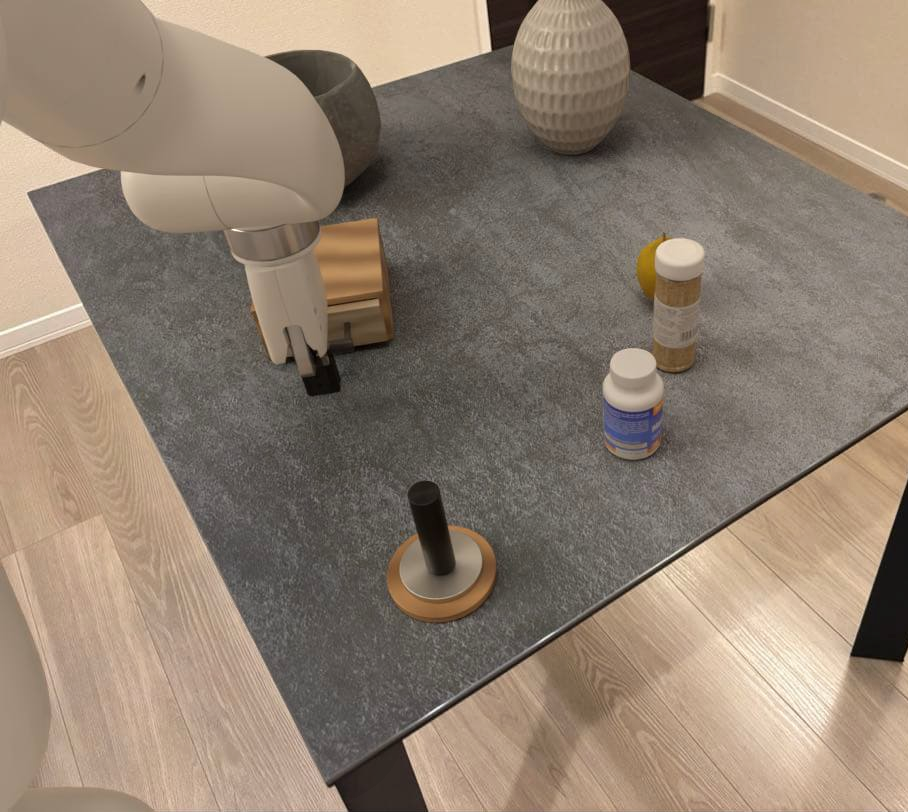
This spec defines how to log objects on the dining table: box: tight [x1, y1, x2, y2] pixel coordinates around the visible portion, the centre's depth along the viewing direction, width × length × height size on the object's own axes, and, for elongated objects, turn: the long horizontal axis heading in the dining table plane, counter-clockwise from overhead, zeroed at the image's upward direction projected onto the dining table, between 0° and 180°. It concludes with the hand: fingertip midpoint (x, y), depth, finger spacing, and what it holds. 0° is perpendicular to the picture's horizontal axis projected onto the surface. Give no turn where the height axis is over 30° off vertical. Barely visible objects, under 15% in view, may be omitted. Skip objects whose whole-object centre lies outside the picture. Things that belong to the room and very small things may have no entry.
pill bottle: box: [602, 347, 665, 461], centre depth 74 cm, size 5×5×10 cm
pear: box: [636, 231, 674, 302], centre depth 90 cm, size 6×6×8 cm
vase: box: [510, 0, 631, 156], centre depth 112 cm, size 16×16×22 cm
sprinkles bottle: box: [651, 237, 706, 373], centre depth 81 cm, size 5×5×14 cm
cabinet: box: [250, 217, 395, 360], centre depth 93 cm, size 15×14×7 cm
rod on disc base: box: [400, 480, 483, 603], centre depth 64 cm, size 7×7×10 cm
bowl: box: [263, 49, 382, 189], centre depth 112 cm, size 21×21×15 cm
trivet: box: [386, 524, 498, 624], centre depth 68 cm, size 9×9×1 cm
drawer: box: [258, 298, 389, 362], centre depth 90 cm, size 18×12×5 cm
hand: (325, 388), depth 81 cm, fingers closed
